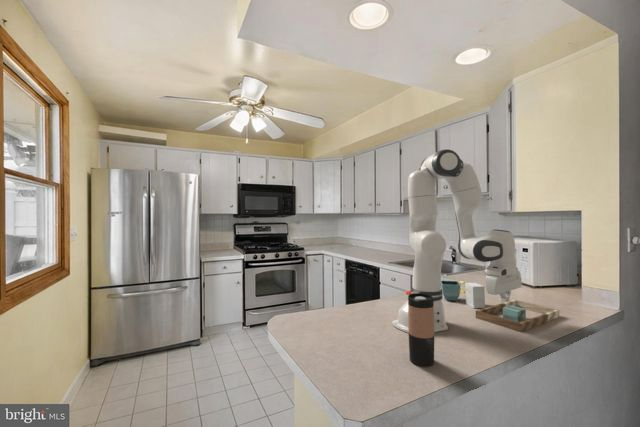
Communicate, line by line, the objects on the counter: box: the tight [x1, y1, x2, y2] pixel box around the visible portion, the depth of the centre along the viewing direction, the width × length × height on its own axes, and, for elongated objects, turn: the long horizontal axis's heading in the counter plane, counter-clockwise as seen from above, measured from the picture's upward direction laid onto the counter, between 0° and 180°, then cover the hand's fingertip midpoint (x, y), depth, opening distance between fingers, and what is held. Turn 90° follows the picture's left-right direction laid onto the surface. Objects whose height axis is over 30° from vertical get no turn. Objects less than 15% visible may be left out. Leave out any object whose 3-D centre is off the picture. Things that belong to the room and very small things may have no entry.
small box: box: [464, 282, 486, 309], centre depth 142 cm, size 8×6×10 cm
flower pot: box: [441, 280, 461, 302], centre depth 153 cm, size 9×9×9 cm
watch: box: [459, 280, 466, 293], centre depth 168 cm, size 6×3×6 cm, turn 20°
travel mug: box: [407, 293, 435, 368], centre depth 90 cm, size 8×8×20 cm
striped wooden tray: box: [475, 299, 560, 333], centre depth 126 cm, size 31×18×3 cm, turn 119°
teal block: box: [502, 306, 527, 323], centre depth 125 cm, size 6×6×4 cm
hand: (505, 301), depth 121 cm, fingers closed
